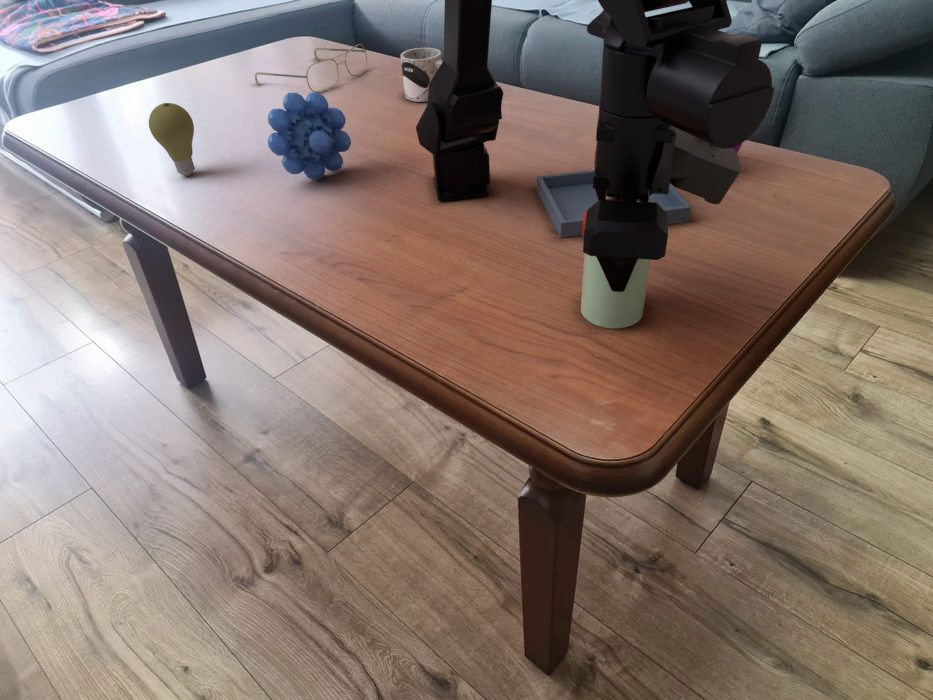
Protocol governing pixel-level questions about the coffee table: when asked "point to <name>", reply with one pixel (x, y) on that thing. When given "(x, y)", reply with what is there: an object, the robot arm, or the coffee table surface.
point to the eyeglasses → (318, 62)
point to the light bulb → (174, 134)
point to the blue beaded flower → (308, 135)
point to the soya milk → (419, 71)
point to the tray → (592, 201)
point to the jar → (613, 295)
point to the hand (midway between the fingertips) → (619, 271)
